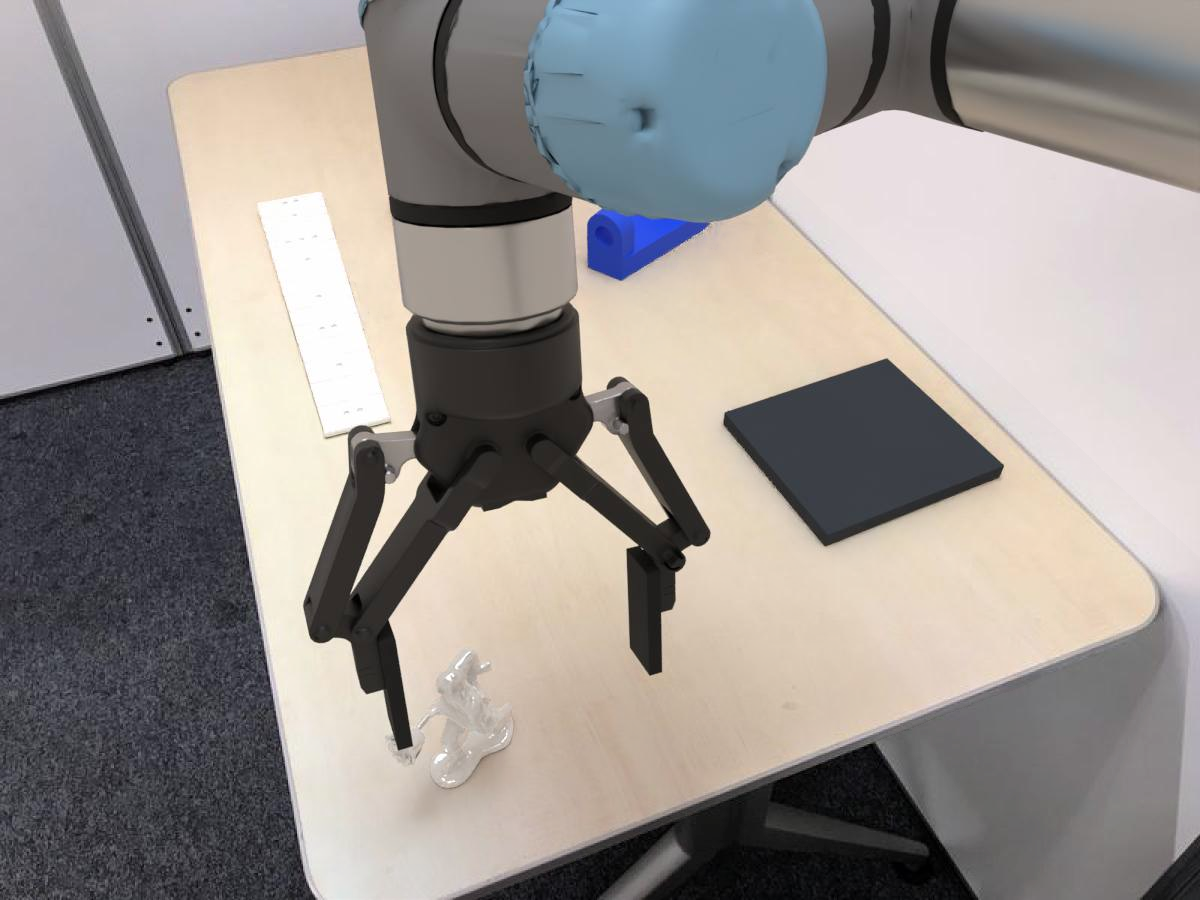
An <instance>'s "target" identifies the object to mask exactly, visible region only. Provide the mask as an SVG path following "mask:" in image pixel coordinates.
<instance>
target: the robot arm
mask: <svg viewBox="0 0 1200 900" xmlns="http://www.w3.org/2000/svg"><path fill="white" fill-rule="evenodd" d="M357 13H358V19H359V24H360V27H361V29H362V30H363V32H364V38H365V45H366V52H367V59H368V66H369V73H370V79H371V86H372V93H373V94H372V95H373V100H374V107H375V113H376V120H377V128H378V134H379V142H380V147H381V155H382V161H383V169H384V174H385V175H384V176H385V181H386V187H387V195H388V203H389V211H390V212H389V213H390V215H391V222H392V231H393V238H394V247H395V255H396V263H397V271H398V278H399V279H398V280H399V287H400V295H401V302H402V305H403V308H405V309H406V310H407V311H409V312H410V313H411V314H412V315H411V317H410V318H409V320H408V322H407V323H406V325H405V331H406V332H405V333H406V341H407V347H408V355H409V363H410V371H411V378H412V385H413V393H414V399H415V408H416V409H415V417H414V420H413V422H412V426H411V428H410V430H402V431H401V430H400V431H391V432H378V433H375V431H374V430H373V429H372V427H371V426H370V427H368V426H365V425H359V426H356V427H354V428H353V429H351V431H350V432H348V433H347V457H348V458H347V459H348V474H347V478H346V480H345V483H344V487H343V489H342V492H341V494H340V497H339V500H338V503H337V506H336V509H335V512H334V514H333V517H332V520H331V523H330V526H329V528H328V531H327V534H326V537H325V540H324V543H323V546H322V549H321V552H320V554H319V557H318V560H317V563H316V565H315V568H314V571H313V574H312V577H311V579H310V583H309V585H308V588H307V592H306V594H305V597H304V599H303V603H302V609H303V614H304V618H305V623H306V627H307V632H308V636H309V638H310V640H311V641H312V642H313V643H316V644H326V643H329V642H330V641H331V640H333V639H343V640H346V641H347V642H349V643H350V646H351V652H352V656H353V663H354V667H355V672H356V676H357V679H358V683H359V687H360V689H361V690H362V692H364V693H365V695H369V694H373V693H374V694H375V693H378V692H381V691H383V697H384V703H385V707H386V713H387V714H386V715H387V718H388V722H389V724H390V725H389V726H390V728H391V731H392V734H393V735H394V739H395V742H396V745H397V749H398V751H399V750H403V749H406V748H409V747H413V742H412V736H411V730H410V727H411V724H410V720H409V713H408V712H409V711H408V706H407V700H406V693H405V689H404V682H403V677H402V670H401V664H400V658H399V651H398V647H397V642H396V637H395V634H394V631H393V629H392V626H391V625H392V624H391V622H390V618H391V617H392V616H393V614H394V613H395V611H396V609H397V608H398V607H399V605H400V603H401V602H402V601H403V599H404V597H405V596H406V595H407V593H408V591H409V590H410V588H411V587H412V586H413V584H414V583H415V582H416V581H417V578H419V576H420V574H421V573H422V571H423V570H424V568H425V567H426V565H427V564H428V563H429V561H430V560H431V558H432V556H433V555H434V553H436V551H437V550H438V548H439V546H440V545H441V544H442V542H443V540H444V539H445V537H446V536H447V535H448V533H449V532H454V531H455V530H457V529H458V527H459V526H460V525H461V523H462V522H463V520H464V518H465V517H466V516H467V514H468V513H469V512H470V510H471V509H472V507H473V508H479V509H481V510H482V512H483V513H485V512H490V511H495V510H498V509H501V508H503V507H505V506H508V505H510V504H511V503H514V502H534V501H539V500H543V499H547V498H548V493H550V492H551V491H552V490H554V489H555V488H556V487H557V486H558V485H559V484H562V485H563V486H564V487H565V488H566V489H568V490H569V491H570V492H571V493H572V494H574V495H575V496H576V497H578V498H579V499H580V500H581V501H583V502H585V503H586V504H588V505H589V506H590V507H591V508H593V510H595V511H596V512H597V513H598V514H600V515H601V516H602V517H603V518H605V519H606V520H607V521H608V522H610V523H611V524H612V525H613V526H614V527H615V528H617V529H618V530H619V531H620V532H622V533H623V534H624V535H625V536H626V537H628V538H629V539H630V540H631V541H633V542H634V543H635V544H636V546H632V547H627V548H626V552H625V553H626V579H627V581H626V582H627V583H626V584H627V605H628V606H627V609H628V637H629V649H630V650H631V652H632V653H633V654H634V656H635V657H636V659H637V660H638V661H639V664H640V665H641V666H642V667H643V669H644V670H645V672H646V673H647V674H648V676H650V677H651V676H654V675H658V674H660V673H663V645H662V644H663V640H662V639H663V637H662V636H663V635H662V634H663V633H662V627H663V626H662V613H666V612H668V611H673V609H674V606H675V604H676V601H677V599H676V598H677V595H676V589H677V588H676V574H677V573H678V572H680V571H681V570H682V569H683V568H684V567H685V565H686V563H687V558H686V555H685V554H684V553H683V551H684V550H686V549H688V548H689V547H691V546H693V547H702V546H704V545H706V544H707V543H708V542H709V540H710V538H711V534H712V533H711V529H710V528H709V526H708V524H707V522H706V520H705V519H704V518H703V515H702V514H701V511H699V509H698V507H697V505H696V503H695V502H694V500H693V499H692V497H691V495H690V493H689V491H688V490H687V488H686V486H685V485H684V483H683V481H682V480H681V478H680V476H679V475H678V473H677V471H676V469H675V468H674V466H673V464H672V462H671V461H670V458H669V457H668V456H667V454H666V452H665V450H664V449H663V447H662V445H661V444H660V442H659V440H658V438H657V436H656V435H655V433H654V428H653V420H652V419H653V418H652V413H651V405H650V400H649V397H648V396H647V395H646V394H644V393H643V392H642V391H641V390H640V389H639V388H638V387H637V386H635V385H634V384H632V383H631V382H630V381H629V380H628V379H627V378H626V377H624V376H622V375H621V376H615V377H613V378H611V379H610V380H609V381H608V382H607V385H606V389H604V390H601V391H597V392H595V393H590V394H588V395H585V394H584V392H583V365H582V346H581V326H580V313H579V311H578V310H577V309H576V307H574V306H573V304H572V303H571V301H572V300H573V299H574V298H575V297H576V296H577V294H578V292H579V291H578V290H579V281H578V267H577V253H576V240H575V225H574V210H573V200H574V199H573V198H575V199H578V200H581V201H583V202H584V201H585V202H588V203H589V204H593V205H595V206H598V207H599V208H601V209H604V210H607V211H612V210H614V211H615V212H617V213H619V214H622V215H625V216H628V217H630V216H634V215H640V216H643V217H645V218H648V219H651V220H652V219H676V220H682V221H688V222H699V223H704V222H709V223H713V222H721V221H726V220H729V219H734V218H735V217H739V216H741V215H743V214H746V213H749V212H750V211H752V210H754V209H756V208H757V207H759V206H760V205H762V204H763V203H765V202H766V201H767V200H768V199H769V198H770V196H772V195H773V194H774V193H775V191H776V188H777V186H778V184H779V183H780V182H781V181H782V180H783V178H784V177H785V176H786V175H787V173H789V172H790V171H791V170H792V169H793V168H795V167H796V166H798V165H799V164H800V163H801V161H802V160H803V158H804V157H805V155H806V154H807V152H808V150H809V148H810V145H811V144H812V141H813V140H814V137H818V136H819V135H823V134H824V133H827V132H829V131H833V130H835V129H837V128H840V127H844V126H846V125H848V124H851V123H855V122H857V121H860V120H863V119H864V118H867V117H870V116H873V115H875V114H878V113H880V112H881V113H882V112H886V111H887V112H888V111H901V112H908V113H911V114H914V115H917V116H921V117H925V118H928V119H932V120H935V121H938V122H941V123H946V124H949V125H952V126H957V127H961V128H964V129H966V130H967V129H968V130H971V131H975V132H979V133H984V132H985V133H988V134H992V135H995V136H999V137H1002V138H1006V139H1009V140H1012V141H1016V142H1019V143H1023V144H1026V145H1030V146H1033V147H1037V148H1040V149H1043V150H1047V151H1051V152H1054V153H1058V154H1061V155H1064V156H1068V157H1071V158H1073V159H1074V158H1075V159H1079V160H1082V161H1084V162H1088V163H1092V164H1095V165H1099V166H1101V167H1105V168H1109V169H1113V170H1116V171H1120V172H1123V173H1126V174H1130V175H1134V176H1137V177H1141V178H1144V179H1146V180H1147V179H1148V180H1151V181H1154V182H1158V183H1160V184H1165V185H1168V186H1172V187H1174V188H1179V189H1182V190H1185V191H1190V192H1192V193H1196V194H1199V195H1200V0H359V2H358V7H357ZM595 422H598V423H599V422H600V424H601V425H602V426H603V427H604V428H605V429H606V430H607V431H608V432H609V433H610V434H611V435H614V436H618V438H619V440H620V441H621V443H622V445H623V446H624V448H625V450H626V451H627V453H628V455H629V456H630V458H631V459H632V461H633V463H634V464H635V466H636V468H637V469H638V471H639V472H640V474H641V476H642V478H643V480H644V481H645V482H646V485H647V486H648V487H649V489H650V491H651V492H652V494H653V495H654V497H655V499H656V501H657V502H658V504H659V506H660V507H661V509H662V510H663V512H664V513H665V516H666V517H667V518H666V519H664V520H663V521H661V522H660V523H658V524H656V522H655V521H653V520H652V519H651V518H649V517H648V516H647V515H646V514H645V513H643V512H642V511H641V510H640V509H639V508H638V507H637V506H635V505H634V504H633V503H632V502H631V501H630V500H629V499H627V498H626V497H625V496H624V495H622V494H621V493H620V492H619V491H618V490H617V489H616V488H615V487H613V486H612V485H611V484H610V483H609V482H608V481H607V480H605V479H604V478H603V477H602V476H600V474H598V473H597V472H596V471H594V470H593V468H592V467H590V466H589V465H588V464H587V463H586V462H584V461H583V460H582V458H580V457H579V456H578V455H577V454H578V453H579V452H580V450H581V448H582V446H583V444H584V443H585V441H586V439H587V438H588V436H589V434H590V433H591V431H592V429H593V426H594V423H595ZM415 459H416V461H417V462H418V463H419V465H421V466H422V467H423V469H425V470H426V473H425V475H424V477H423V478H422V479H421V481H420V482H419V484H418V486H417V488H416V493H415V497H414V499H413V500H412V502H411V504H409V506H408V508H407V509H406V511H405V512H404V514H403V516H402V517H401V518H400V520H399V522H398V523H397V525H396V526H395V527H394V529H393V530H392V532H391V533H390V534H389V536H388V538H387V540H386V541H385V542H384V544H383V545H382V547H381V548H380V550H379V551H378V552H377V554H376V556H375V557H374V558H373V560H372V562H371V563H370V565H368V567H367V569H366V571H365V572H364V573H363V575H362V577H361V578H360V579H359V581H358V582H357V584H356V585H355V583H356V580H357V577H358V574H359V571H360V569H361V566H362V564H363V560H364V557H365V555H366V552H367V550H368V547H369V544H370V541H371V538H372V536H373V533H374V530H375V528H376V525H377V522H378V519H379V517H380V514H381V512H382V508H383V505H384V501H385V496H386V495H385V494H386V485H391V484H394V483H395V482H396V480H397V479H398V478H399V476H400V474H401V471H402V468H403V466H404V465H405V464H406V463H407V462H409V461H411V460H415ZM354 585H355V587H354Z"/></svg>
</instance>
